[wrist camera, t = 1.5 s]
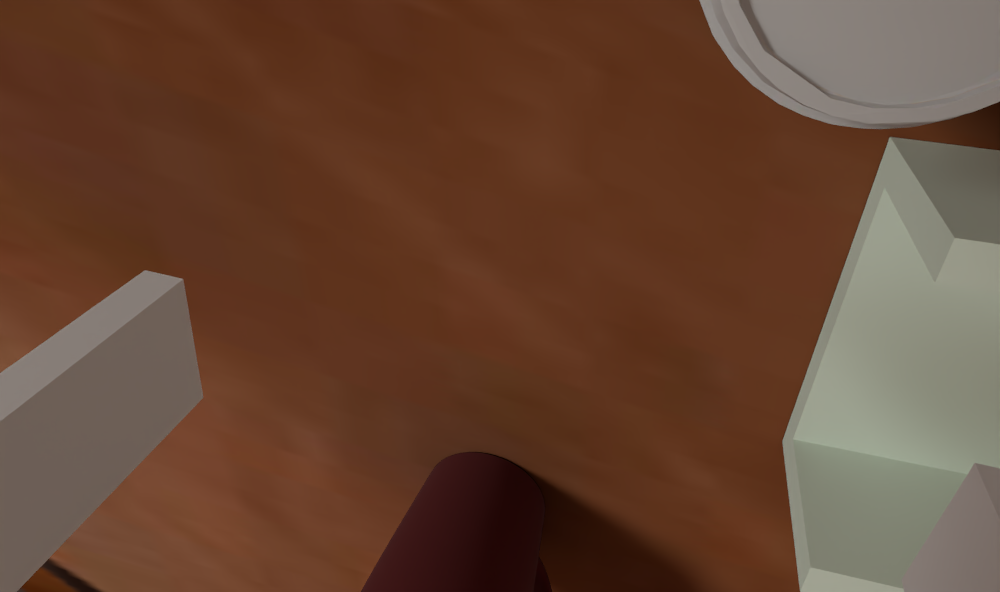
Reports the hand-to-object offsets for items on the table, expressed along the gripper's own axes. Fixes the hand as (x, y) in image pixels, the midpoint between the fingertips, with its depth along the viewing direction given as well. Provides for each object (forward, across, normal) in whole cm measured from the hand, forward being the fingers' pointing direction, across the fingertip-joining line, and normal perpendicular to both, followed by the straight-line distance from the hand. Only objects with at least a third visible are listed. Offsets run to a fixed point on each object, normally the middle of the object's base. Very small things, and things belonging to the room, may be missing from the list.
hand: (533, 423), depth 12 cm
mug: (+21, -3, -26) cm, 34 cm away
